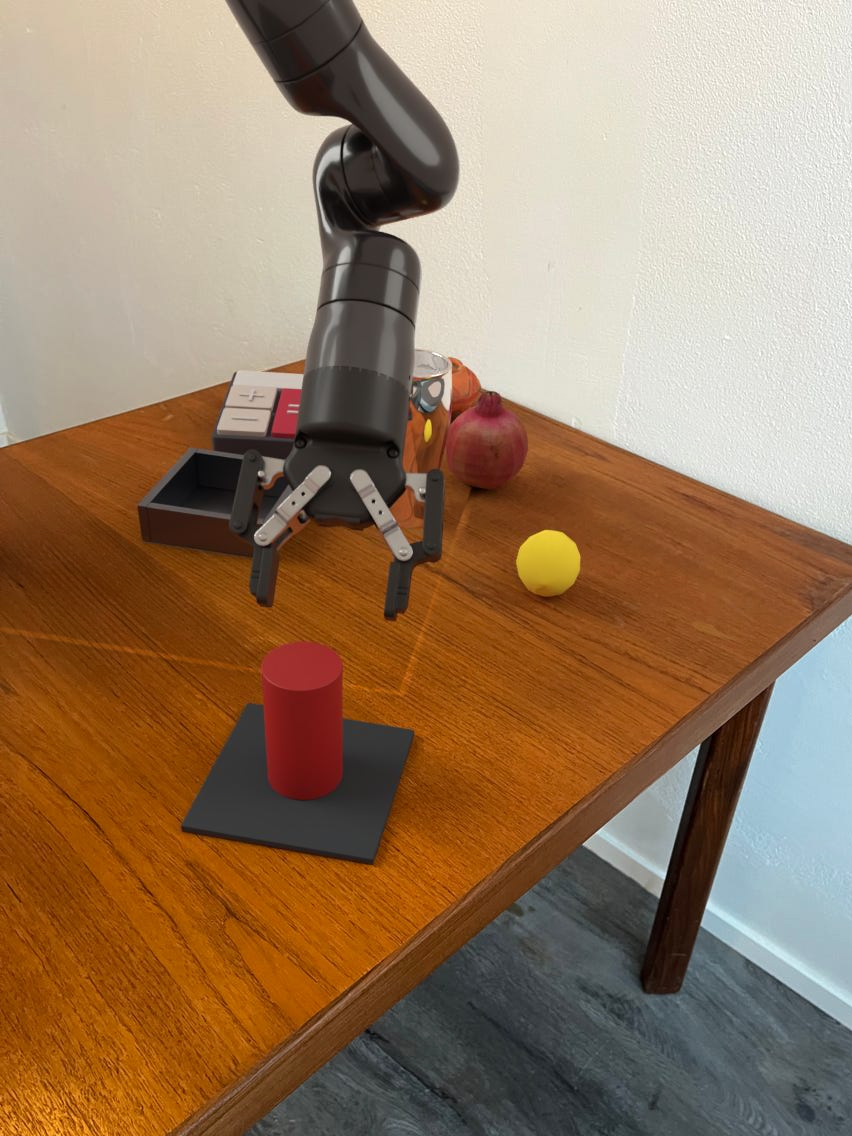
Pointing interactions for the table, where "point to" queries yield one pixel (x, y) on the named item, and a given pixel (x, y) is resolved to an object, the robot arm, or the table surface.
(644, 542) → the table surface
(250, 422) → the calculator
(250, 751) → the mat
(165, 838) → the table surface
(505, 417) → the fruit
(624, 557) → the table surface
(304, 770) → the canister
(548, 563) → the lemon
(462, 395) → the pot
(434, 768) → the table surface
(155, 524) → the bin
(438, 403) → the beer glass
